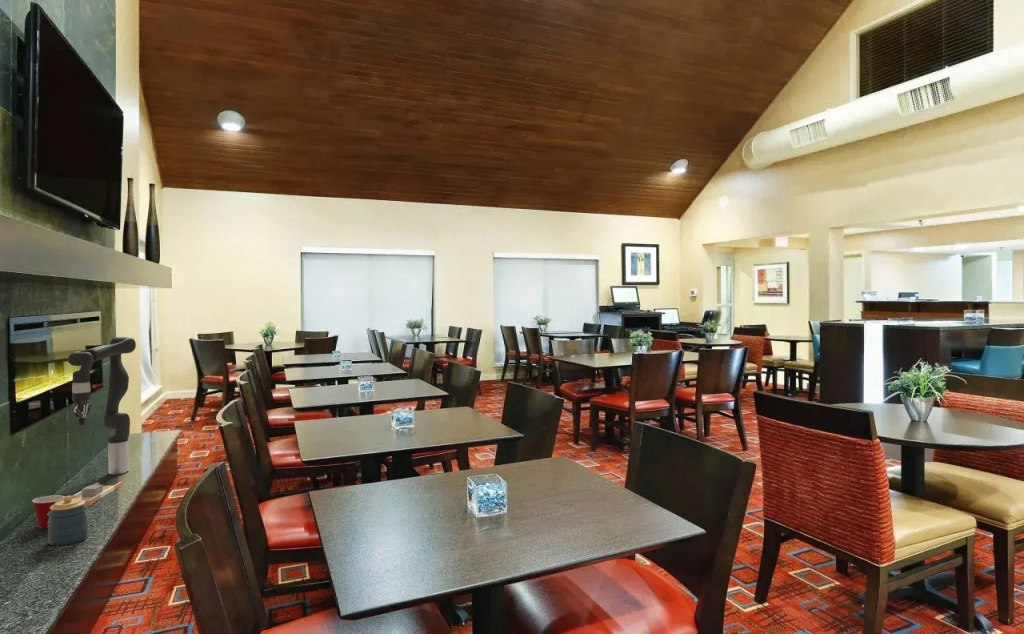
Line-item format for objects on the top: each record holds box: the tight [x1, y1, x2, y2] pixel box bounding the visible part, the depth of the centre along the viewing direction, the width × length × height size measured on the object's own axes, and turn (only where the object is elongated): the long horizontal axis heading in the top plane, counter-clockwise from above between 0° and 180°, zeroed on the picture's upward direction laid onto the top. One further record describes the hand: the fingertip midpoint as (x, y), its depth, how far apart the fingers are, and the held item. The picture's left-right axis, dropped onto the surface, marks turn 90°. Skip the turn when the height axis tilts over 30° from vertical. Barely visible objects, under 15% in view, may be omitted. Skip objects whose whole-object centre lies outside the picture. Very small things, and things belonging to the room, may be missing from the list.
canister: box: [47, 495, 90, 546], centre depth 232 cm, size 13×13×18 cm
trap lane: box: [70, 481, 124, 507], centre depth 284 cm, size 29×12×2 cm, turn 8°
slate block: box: [81, 484, 104, 497], centre depth 283 cm, size 6×6×4 cm
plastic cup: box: [31, 494, 66, 529], centre depth 246 cm, size 11×11×12 cm
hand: (82, 425), depth 297 cm, fingers closed
